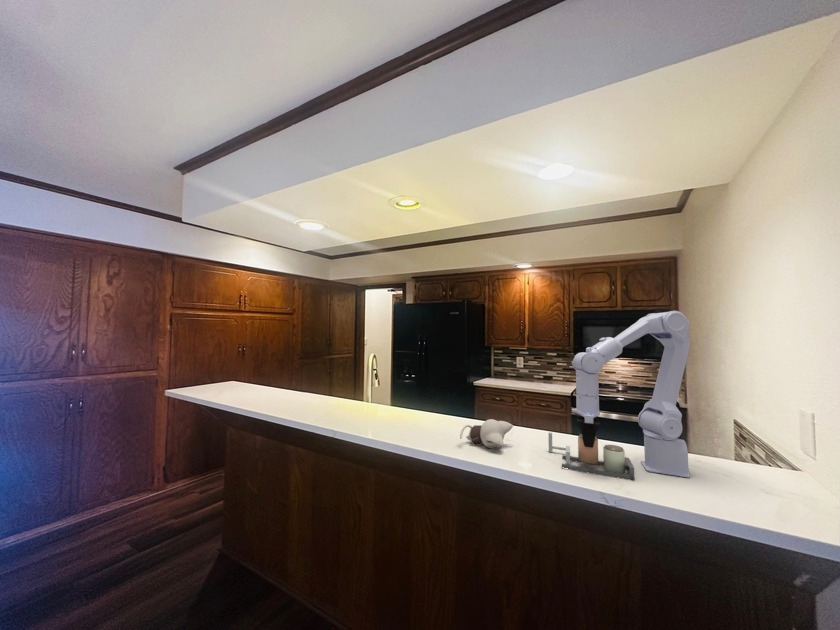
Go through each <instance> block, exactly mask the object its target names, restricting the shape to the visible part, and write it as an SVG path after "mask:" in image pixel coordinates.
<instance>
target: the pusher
mask: <svg viewBox="0 0 840 630" xmlns="http://www.w3.org/2000/svg"><path fill="white" fill-rule="evenodd" d="M553 450H559V451H565V455H566V460H565V464H569V465H571V461H570V456H571V447H570V446H569V445H565V447H564V446H555V445H553V432H552V431H548V453H553Z"/></svg>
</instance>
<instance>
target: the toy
mask: <svg viewBox="0 0 840 630" xmlns="http://www.w3.org/2000/svg"><path fill="white" fill-rule="evenodd" d="M466 428H470V430H469V433H468V435H467V436H465V438H466V439H467V440H469V442H471V443H473V444H475V445H477V444H483V445H484V446H485V447H486V448H488V450H490V449H492V448H493V449H494V448H496V447H498V446H499V447H500V446H504V438H505V435H506V434H507V433H509V432H510V431H511V430H512V428H514V425H513V424H511V423H509V422H507V421H505V420H495V419H493V418H492V419H491V418H490V419H487V420H485V421H484V422H482V425H476V424H474V425H473V426H472V425H470V424H465V425H464V426H463V427H462V428H461V431H460V433H459V439H460V440H461V439H463V433H464V431H465V430H466Z"/></svg>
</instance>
